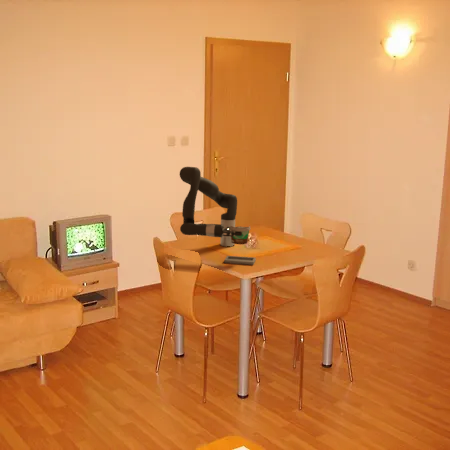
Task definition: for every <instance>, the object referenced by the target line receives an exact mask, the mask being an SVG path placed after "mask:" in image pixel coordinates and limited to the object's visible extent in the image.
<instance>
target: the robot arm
mask: <svg viewBox="0 0 450 450" xmlns="http://www.w3.org/2000/svg"><path fill="white" fill-rule="evenodd" d="M201 174H202V173H201V170H200V169H199V167H194V166H184V167H182V168H180V171H179V178H180V180H182V182H183V183H186V184H188V185H190V188H189V190H188V193H187V194H186V197H185V198H184V200H183V204H182V212H181V213H182V218H183V223H182V224H181V225H180V229H179V230H180V233H181V234H183V235H187V236H203V237H204V236H205V237H211V238H219V239H220V241H219V242H220V243H219V245H220V246H222V247H227V246H230V247H234V246H235V245H236V244H234V243H232V242H231V236H232V237H233V236H242V232H235V231H233V230H230V226H232V227H236V215H237V211H238V197H237V196H236V195H235V194H230V193H224V192H222V191H221V190H220V189H219V186H218V185H217V183H215V182H214V181H212V180H211V179H208V178H206V177H203V176H202V175H201ZM198 191H199V192H200V193H201V194H203V195H204V196H206V197H208V198H209V199H211V200H213V201H214V202H215V203H216V204H217V205H218V206H219V207H221V208H223V209H227V210H226V212H224V213H222V214H221V215H220V224H217V223H195V213H196V212H195V210H196V208H195V207H196V200H197V196H198V195H197V194H198ZM233 245H234V246H233Z"/></svg>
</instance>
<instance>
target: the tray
mask: <svg viewBox="0 0 450 450" xmlns="http://www.w3.org/2000/svg"><path fill="white" fill-rule="evenodd" d="M256 259H257V258H256V257H251V256H250V257H249V256H240V255H239V256H238V255H226V257H225V258H224V261H223V262H224V264H231V265H245V266H246V265H247V266H254V265H255V263H256Z"/></svg>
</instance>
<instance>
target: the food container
mask: <svg viewBox="0 0 450 450" xmlns="http://www.w3.org/2000/svg"><path fill="white" fill-rule="evenodd" d="M230 230H233V231H235V232H242V236H233V237H232V236H231V242H232V243H234V244H235V245H246V244H248V240H249V234H250V231H251V225H249V226H235V227H232V226H230Z"/></svg>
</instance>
